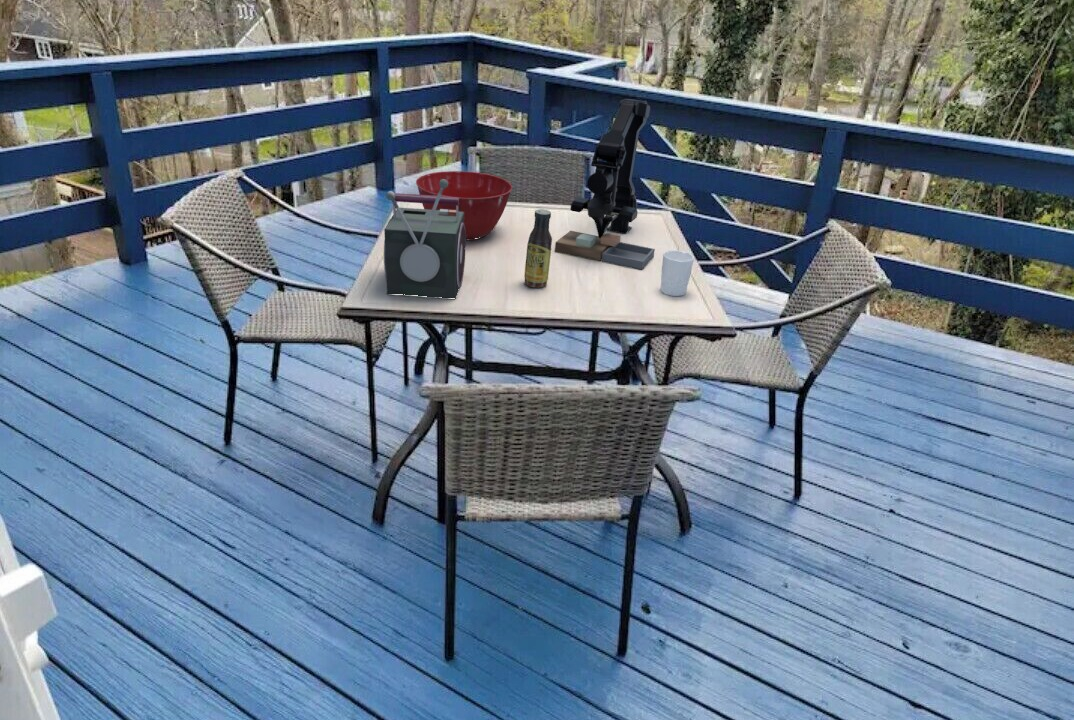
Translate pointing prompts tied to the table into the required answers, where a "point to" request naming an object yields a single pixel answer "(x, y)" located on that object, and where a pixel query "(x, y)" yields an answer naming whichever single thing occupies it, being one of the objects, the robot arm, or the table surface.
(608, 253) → the tray
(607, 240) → the terracotta tile
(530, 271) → the sauce bottle
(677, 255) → the white cup
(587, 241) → the sage tile
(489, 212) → the mixing bowl
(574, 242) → the walnut board
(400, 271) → the boombox
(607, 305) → the table surface
